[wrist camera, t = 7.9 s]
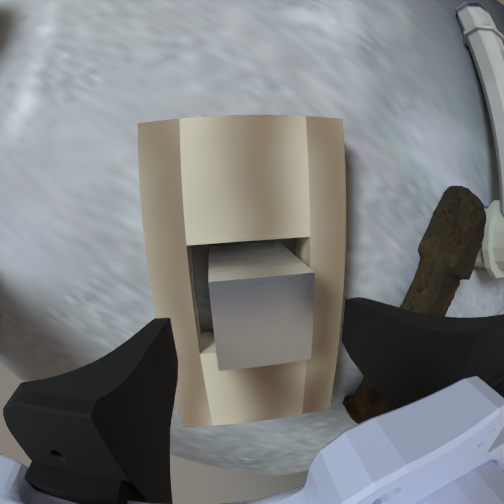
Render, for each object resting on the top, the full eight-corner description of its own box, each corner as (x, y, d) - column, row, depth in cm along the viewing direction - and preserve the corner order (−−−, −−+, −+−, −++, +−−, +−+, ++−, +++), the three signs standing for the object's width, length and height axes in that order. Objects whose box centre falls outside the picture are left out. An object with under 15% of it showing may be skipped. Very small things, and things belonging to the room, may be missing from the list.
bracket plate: (184, 402, 18) (182, 426, 16) (148, 132, 14) (138, 123, 12) (318, 387, 20) (329, 408, 17) (324, 127, 15) (342, 119, 13)
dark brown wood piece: (370, 401, 21) (395, 434, 17) (335, 399, 21) (358, 437, 16) (463, 201, 18) (505, 208, 14) (435, 178, 17) (481, 181, 13)
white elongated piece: (499, 18, 11) (545, 282, 13) (462, 39, 17) (492, 271, 20) (467, -8, 10) (523, 288, 12) (429, 20, 17) (462, 274, 19)
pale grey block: (214, 311, 17) (218, 370, 11) (209, 246, 16) (208, 281, 10) (280, 305, 18) (310, 358, 12) (278, 241, 17) (314, 272, 11)
